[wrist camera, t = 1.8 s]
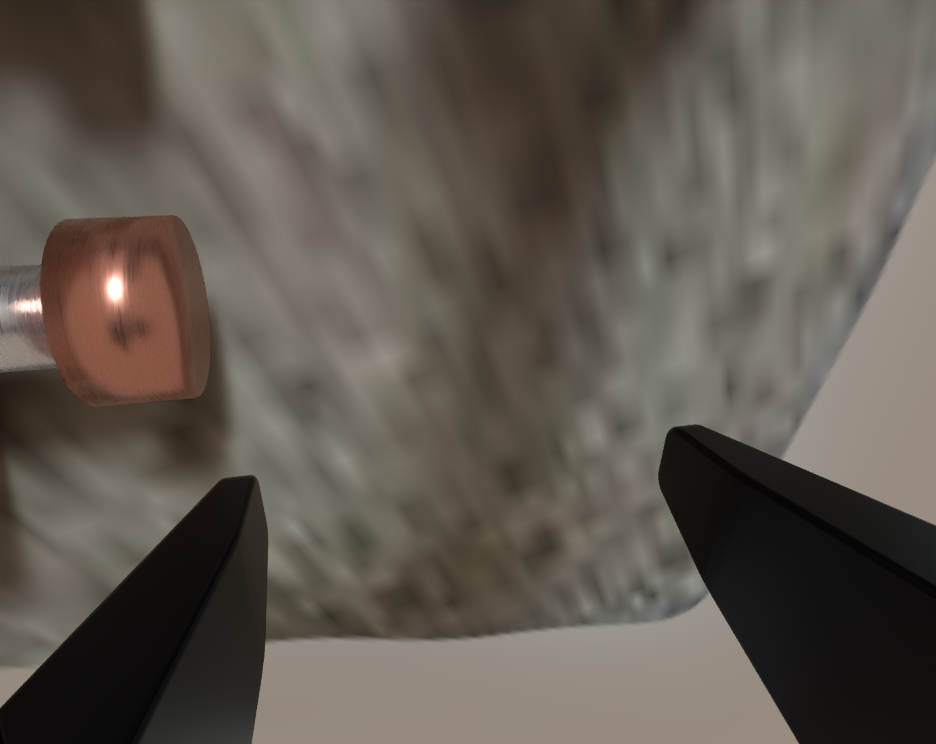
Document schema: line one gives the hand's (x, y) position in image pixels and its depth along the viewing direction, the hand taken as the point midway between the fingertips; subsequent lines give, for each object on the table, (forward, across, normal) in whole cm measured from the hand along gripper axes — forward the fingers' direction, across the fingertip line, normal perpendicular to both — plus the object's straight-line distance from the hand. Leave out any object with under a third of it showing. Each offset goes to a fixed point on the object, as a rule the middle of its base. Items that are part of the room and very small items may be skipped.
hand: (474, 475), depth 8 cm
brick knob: (+9, +9, 0) cm, 13 cm away
